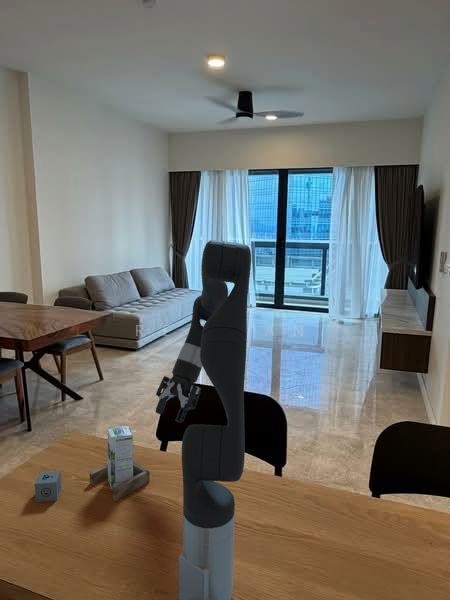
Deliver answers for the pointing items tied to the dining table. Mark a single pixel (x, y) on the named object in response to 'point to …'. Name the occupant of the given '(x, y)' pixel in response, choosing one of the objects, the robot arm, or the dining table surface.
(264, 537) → the dining table surface
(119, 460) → the syrup box
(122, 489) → the frame
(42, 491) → the dice cube
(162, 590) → the dining table surface
